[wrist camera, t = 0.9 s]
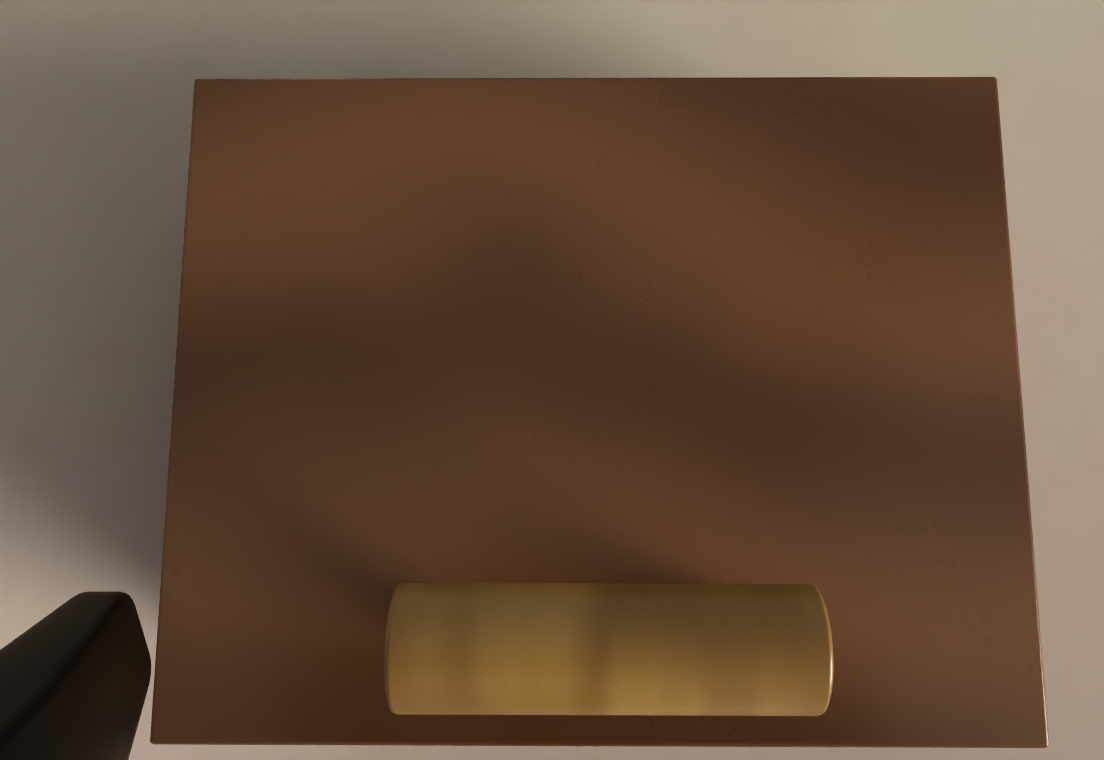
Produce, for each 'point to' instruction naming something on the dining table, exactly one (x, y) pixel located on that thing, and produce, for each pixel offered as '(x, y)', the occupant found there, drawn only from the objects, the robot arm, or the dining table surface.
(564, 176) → the lid
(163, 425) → the dining table surface
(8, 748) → the robot arm
